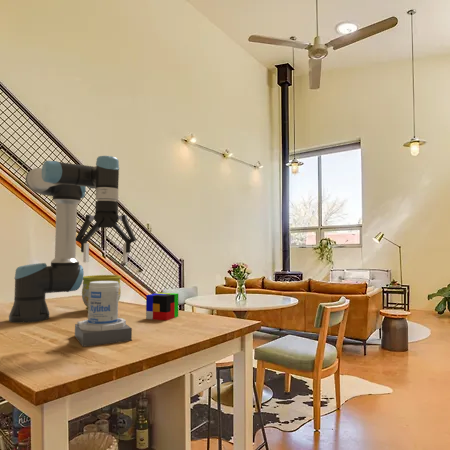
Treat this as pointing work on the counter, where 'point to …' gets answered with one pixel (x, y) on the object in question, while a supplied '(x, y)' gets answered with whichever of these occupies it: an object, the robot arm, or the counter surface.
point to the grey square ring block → (102, 333)
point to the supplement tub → (103, 303)
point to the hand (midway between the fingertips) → (105, 262)
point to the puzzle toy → (162, 306)
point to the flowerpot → (97, 278)
